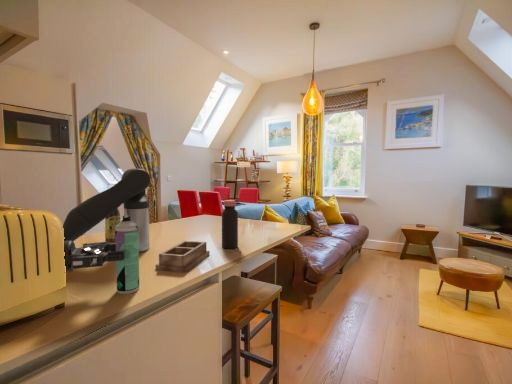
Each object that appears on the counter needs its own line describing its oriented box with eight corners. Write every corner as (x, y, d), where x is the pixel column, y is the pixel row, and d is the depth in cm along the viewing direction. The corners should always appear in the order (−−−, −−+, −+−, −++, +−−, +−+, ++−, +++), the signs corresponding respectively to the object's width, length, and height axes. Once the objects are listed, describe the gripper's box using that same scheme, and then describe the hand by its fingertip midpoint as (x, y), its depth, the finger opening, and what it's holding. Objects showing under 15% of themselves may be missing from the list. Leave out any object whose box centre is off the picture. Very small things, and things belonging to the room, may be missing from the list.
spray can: (135, 283, 75) (133, 213, 73) (142, 289, 71) (140, 216, 70) (114, 289, 71) (111, 215, 70) (120, 296, 67) (118, 218, 66)
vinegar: (235, 249, 109) (235, 201, 108) (219, 248, 110) (219, 201, 109) (239, 245, 116) (239, 200, 114) (224, 244, 117) (224, 199, 116)
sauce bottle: (109, 243, 118) (108, 199, 117) (102, 241, 121) (100, 198, 120) (123, 240, 124) (122, 198, 122) (116, 238, 127) (115, 197, 126)
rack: (155, 269, 86) (155, 254, 86) (183, 252, 104) (183, 240, 104) (186, 272, 84) (186, 256, 83) (209, 254, 102) (209, 241, 102)
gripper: (58, 264, 70) (126, 257, 76) (40, 284, 57) (124, 274, 63) (57, 236, 69) (125, 231, 76) (38, 250, 56) (123, 243, 63)
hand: (125, 250), depth 70 cm, fingers open, 8 cm apart
